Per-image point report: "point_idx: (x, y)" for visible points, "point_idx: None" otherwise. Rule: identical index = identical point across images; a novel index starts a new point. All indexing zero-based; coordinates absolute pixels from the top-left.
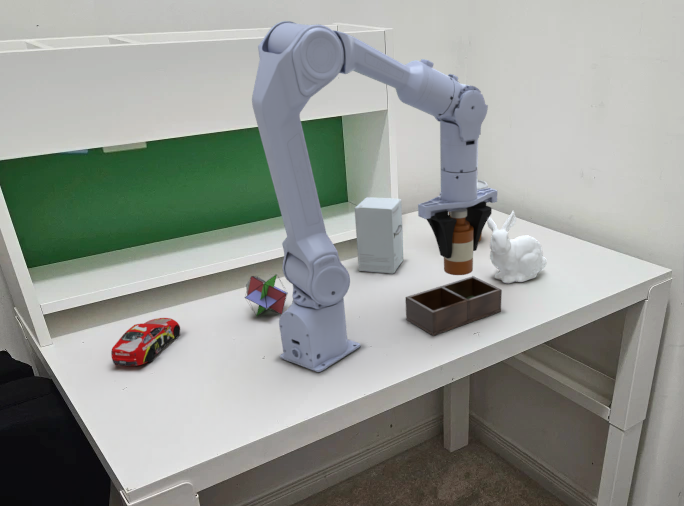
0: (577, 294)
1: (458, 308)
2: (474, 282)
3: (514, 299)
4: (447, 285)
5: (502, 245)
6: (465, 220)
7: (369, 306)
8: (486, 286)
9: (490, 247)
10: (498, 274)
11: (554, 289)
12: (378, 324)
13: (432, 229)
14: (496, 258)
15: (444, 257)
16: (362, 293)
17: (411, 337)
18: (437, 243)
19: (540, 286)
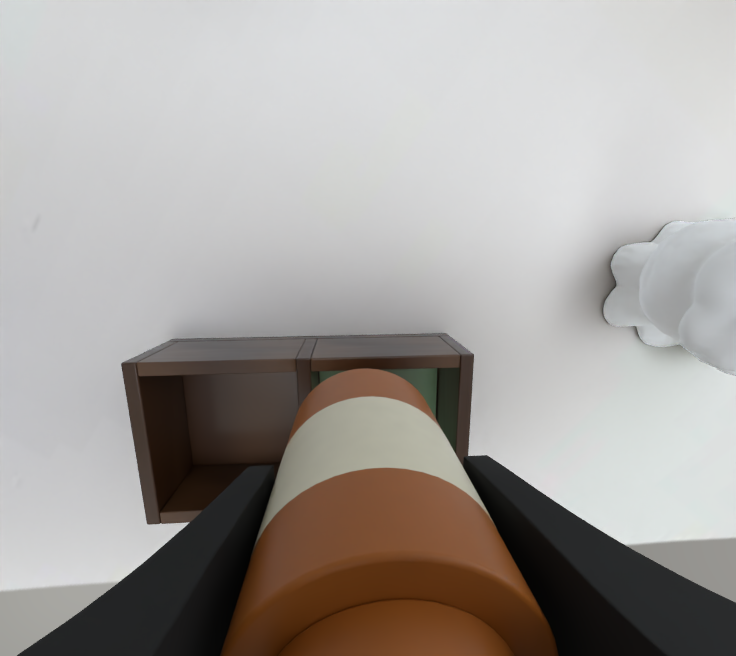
0: (682, 491)
1: None
2: (454, 373)
3: (531, 417)
4: (330, 370)
5: (734, 364)
6: (606, 640)
7: (105, 167)
8: (453, 441)
9: (706, 275)
10: (630, 267)
11: (668, 432)
12: (74, 312)
13: (44, 646)
14: (663, 303)
15: (282, 457)
16: (130, 32)
17: (129, 440)
18: (200, 513)
19: (659, 393)
